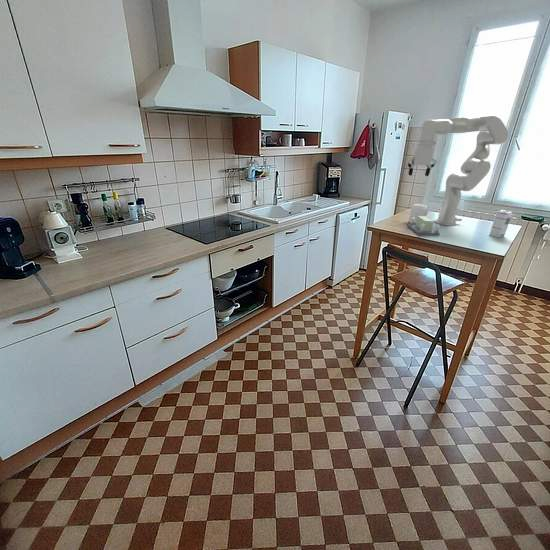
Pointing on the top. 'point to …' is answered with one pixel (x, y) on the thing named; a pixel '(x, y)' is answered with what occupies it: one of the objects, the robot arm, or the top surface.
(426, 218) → the green block
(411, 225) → the standoff plate
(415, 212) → the photo printer
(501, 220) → the syrup box
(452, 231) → the top surface
